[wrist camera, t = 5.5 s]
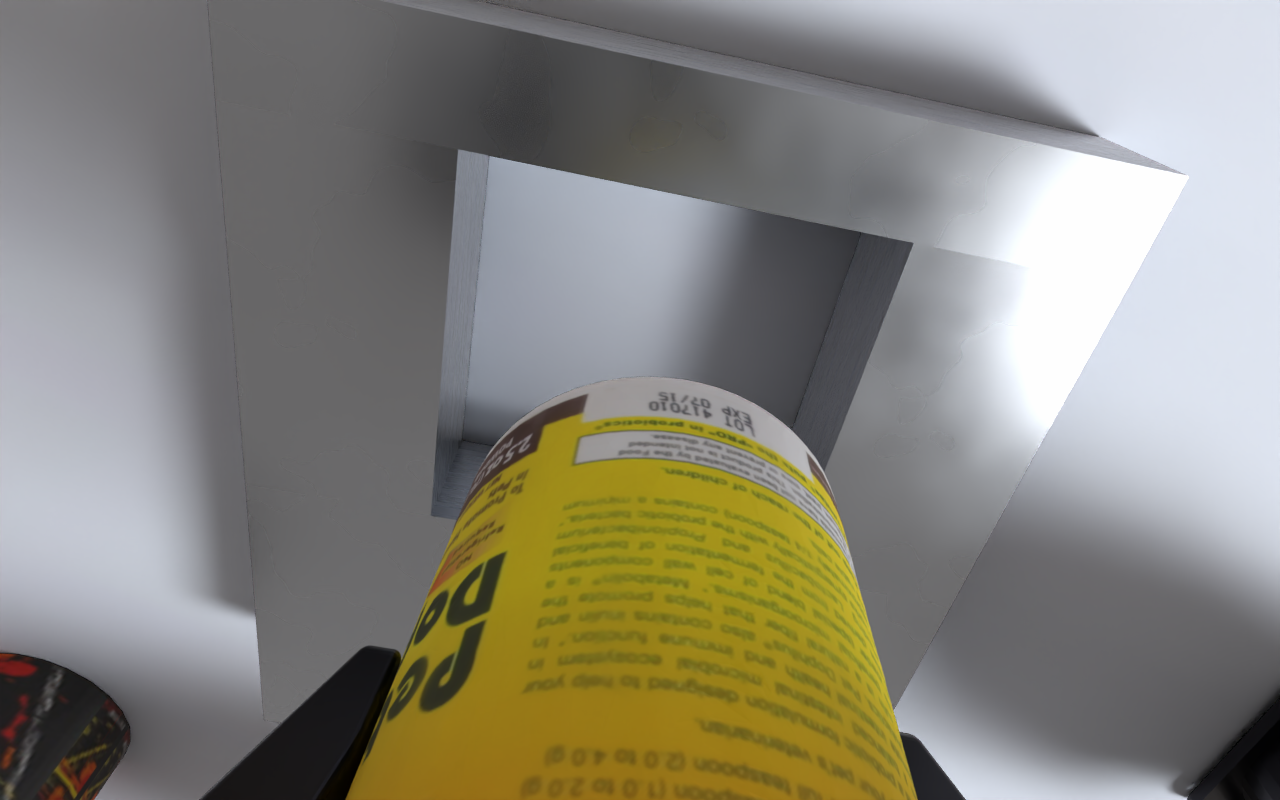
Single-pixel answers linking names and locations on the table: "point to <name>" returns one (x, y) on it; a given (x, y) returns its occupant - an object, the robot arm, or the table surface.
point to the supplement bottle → (642, 619)
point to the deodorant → (55, 732)
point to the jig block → (660, 160)
